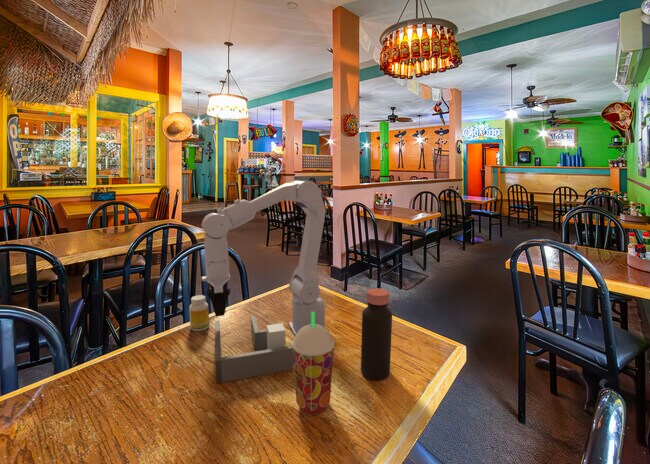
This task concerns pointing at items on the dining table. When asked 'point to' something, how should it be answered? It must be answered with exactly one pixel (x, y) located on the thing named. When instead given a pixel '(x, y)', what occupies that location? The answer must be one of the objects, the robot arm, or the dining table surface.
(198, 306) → the supplement bottle
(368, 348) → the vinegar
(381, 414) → the dining table surface
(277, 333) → the block
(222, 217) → the robot arm
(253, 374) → the rails
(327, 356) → the smoothie
